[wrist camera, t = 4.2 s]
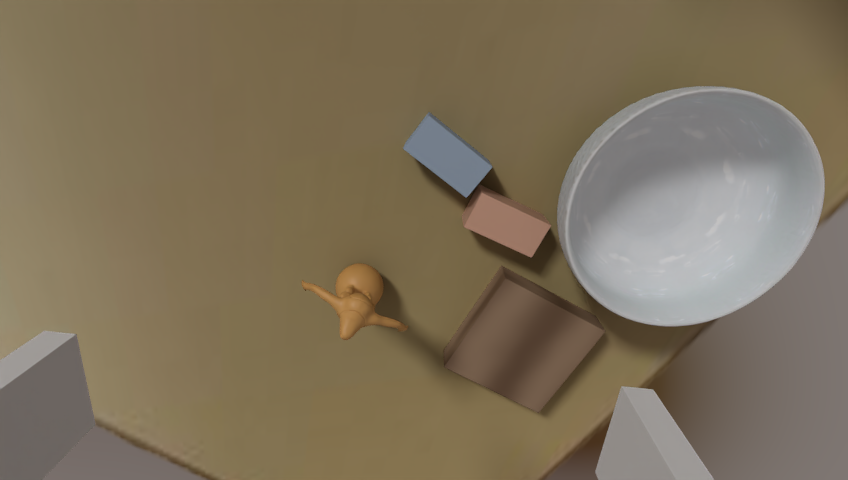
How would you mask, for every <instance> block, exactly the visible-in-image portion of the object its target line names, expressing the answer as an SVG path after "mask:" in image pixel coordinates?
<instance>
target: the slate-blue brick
mask: <svg viewBox="0 0 848 480" xmlns="http://www.w3.org/2000/svg"><path fill="white" fill-rule="evenodd" d="M403 149H404V150H405V151H407V152H408V153H409V154H411V155H412V156H413V157H414V158H416V159H417V160H418V161H420V162H421V163H422V164H423V165H425V166H426V167H427V168H429V169H430V170H431V171H432V172H434V173H435V174H436V175H437V176H439V177H440V178H441V179H443V180H444V181H445V182H446V183H448V184H449V185H450V186H452V187H453V188H454V189H455V190H457V191H458V192H459V193H461V194H462V195H463V196H464V197H466V198H467V197H468V196H469V194H470V193H471V192H472V191H473V190H474V188H475V187H476V186H477V185H478V184H479V183H480V181H481V180H482V179H483V178H484V177H485V175H486V174H487V173H488V172H489V171H490V170H491V168H492V165H491V164H490V162H489V160H488V159H486V158H485V157H484V156H483V155H482V154H480V153H479V152H478V151H477V150H475V149H474V148H473V147H472V146H470V145H469V144H468V143H467V142H466V141H464V140H463V139H462V138H461V137H459V136H458V135H457V134H456V133H454V132H453V131H452V130H451V129H450V128H448V127H447V126H446V125H445V124H443V123H442V122H441V121H440V120H438V119H437V118H436V117H435V116H433V115H432V114H431V113H430V112H429V113H428V114H427V115H426V116H425V118H424V119H423V120H422V122H421V123H420V124H419V126H418V127H417V128H416V130H415V131H414V132H413V134H412V135H411V136H410V138H409V139H408V140H407V142H406V143H405V145H404V148H403Z"/></svg>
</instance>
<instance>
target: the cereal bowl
mask: <svg viewBox="0 0 848 480" xmlns="http://www.w3.org/2000/svg"><path fill="white" fill-rule="evenodd" d="M824 187H825V179H824V170H823V165H822V161H821V158H820V155H819V152H818V149H817V147H816V145H815V143H814V141H813V139H812V137H811V136H810V134H809V133H808V131H807V129H806V128H805V127H804V126H803V124H802V123H801V122H800V121H799V120H798V119H797V118H796V117H795V116H794V115H793V114H792V113H791V112H789V111H788V110H787V109H786V108H784V107H783V106H781V105H780V104H778V103H776V102H774V101H772V100H770V99H768V98H766V97H764V96H761V95H758V94H756V93H753V92H750V91H744V90H740V89H736V88H727V87H714V86H703V87H702V86H700V87H699V86H695V87H688V88H679V89H673V90H669V91H666V92H663V93H656V94H655V95H653V96H650V97H646V98H644V99H641V100H640V101H638V102H635V103H634V104H631V105H629V106H628V107H626V108H624V109H622V110H621V111H620V112H618V113H616V114H615V115H614V116H612V117H610V118H609V119H608V120H607V121H606V122H604V123H603V124H602V125H601V126H600V127H598V128H597V129H596V130H595V132H594V133H592V134H591V136H590V137H589V138H588V139H587V140H586V141H585V143H584V144H583V145H582V147H581V148H580V150H579V151H578V152H577V154H576V156H575V157H574V158H573V161H572V162H571V164H570V166H569V168H568V170H567V172H566V175H565V177H564V181H563V183H562V187H561V191H560V195H559V201H558V208H557V224H558V234H559V239H560V244H561V247H562V251H563V253H564V255H565V259H566V260H567V262H568V265H569V267H570V269H571V270H572V272H573V274H574V275H575V277H576V278H577V280H578V282H579V283H580V284H581V285H582V286H583V287H584V289H585V290H586V292H587V293H588V294H589V295H591V296H592V297H593V298H594V299H595V300H596V301H597V302H598V303H600V304H601V305H602V306H604V307H605V308H607V309H608V310H610V311H612V312H613V313H615V314H617V315H619V316H622V317H624V318H627V319H630V320H632V321H636V322H640V323H644V324H649V325H655V326H687V325H694V324H699V323H703V322H708V321H711V320H714V319H717V318H720V317H723V316H726V315H728V314H730V313H732V312H734V311H736V310H738V309H740V308H742V307H744V306H746V305H748V304H749V303H751V302H753V301H755V300H756V299H757V298H759V297H760V296H762V295H763V294H764V293H766V292H767V291H768V290H770V289H771V288H772V287H773V286H774V285H776V284H777V283H778V282H779V281H780V280H781V279H782V278H783V277H784V276H785V275H786V274H787V273H788V272H789V271H790V270H791V268H792V267H793V266H794V265H795V264H796V262H797V261H798V260H799V258H800V257H801V255H802V254H803V252H804V250H805V249H806V247H807V246H808V244H809V242H810V240H811V238H812V236H813V234H814V232H815V230H816V227H817V224H818V222H819V218H820V215H821V211H822V206H823V200H824Z"/></svg>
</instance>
